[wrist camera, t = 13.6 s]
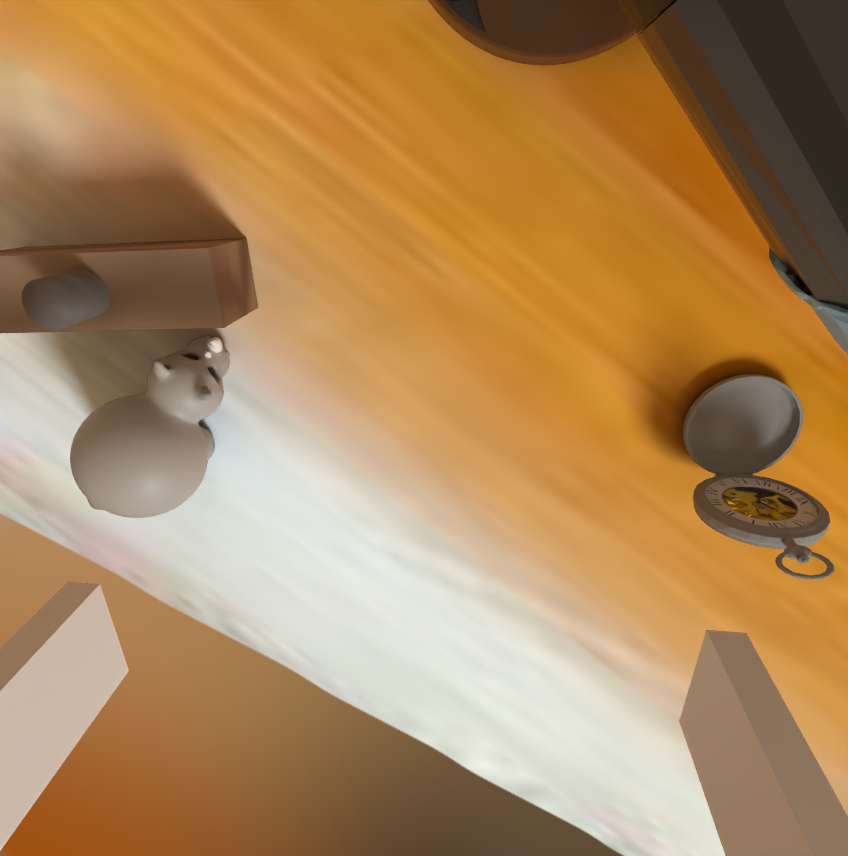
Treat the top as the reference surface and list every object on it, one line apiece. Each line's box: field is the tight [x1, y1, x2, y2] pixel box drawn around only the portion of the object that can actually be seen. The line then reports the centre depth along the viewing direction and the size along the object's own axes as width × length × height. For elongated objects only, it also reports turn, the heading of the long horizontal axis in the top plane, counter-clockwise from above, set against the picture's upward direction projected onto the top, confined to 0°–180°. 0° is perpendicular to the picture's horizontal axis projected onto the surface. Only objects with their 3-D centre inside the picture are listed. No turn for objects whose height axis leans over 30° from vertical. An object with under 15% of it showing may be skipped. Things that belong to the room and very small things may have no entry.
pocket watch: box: [683, 374, 834, 580], centre depth 30 cm, size 8×8×10 cm
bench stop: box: [0, 238, 258, 333], centre depth 29 cm, size 4×14×8 cm, turn 93°
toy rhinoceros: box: [70, 336, 230, 518], centre depth 33 cm, size 7×12×8 cm, turn 144°
